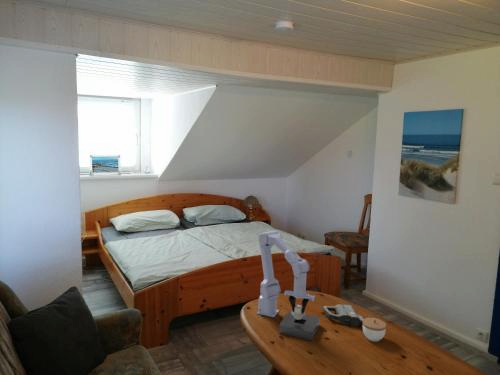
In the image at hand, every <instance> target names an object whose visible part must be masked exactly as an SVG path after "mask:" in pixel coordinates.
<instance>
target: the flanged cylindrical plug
mask: <svg viewBox="0 0 500 375" xmlns="http://www.w3.org/2000/svg"><path fill="white" fill-rule="evenodd" d="M291 311H292V310H291ZM291 314H292V315H293V316H294V318H295V319H297V320H301V319H302V317H303V316H305V314H306V312H305V311H304V314H302V304H301V305H300V304H295V306H294V312H293V311H292V312H291Z"/></svg>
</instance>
